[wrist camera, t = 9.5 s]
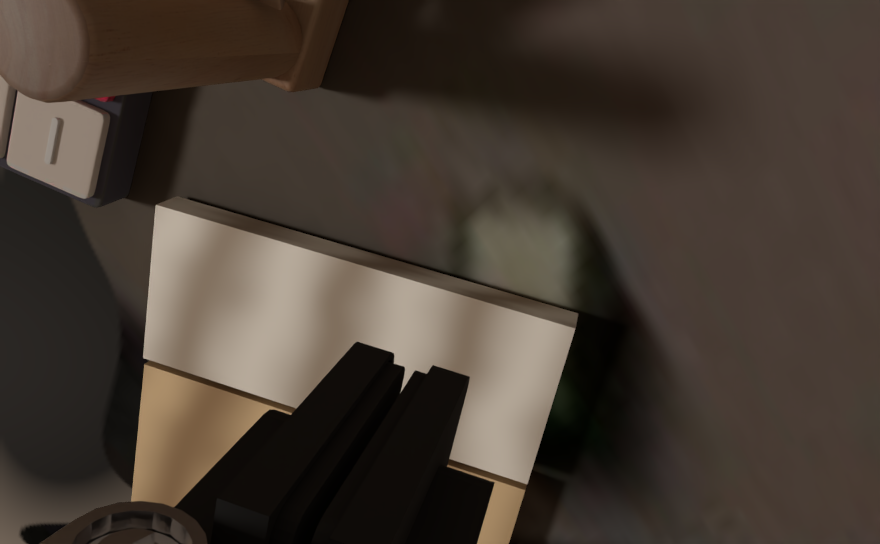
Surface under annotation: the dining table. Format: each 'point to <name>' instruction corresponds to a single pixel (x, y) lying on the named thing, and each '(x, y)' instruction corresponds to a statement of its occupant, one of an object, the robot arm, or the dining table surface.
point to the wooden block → (163, 45)
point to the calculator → (74, 142)
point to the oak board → (222, 424)
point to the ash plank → (348, 325)
